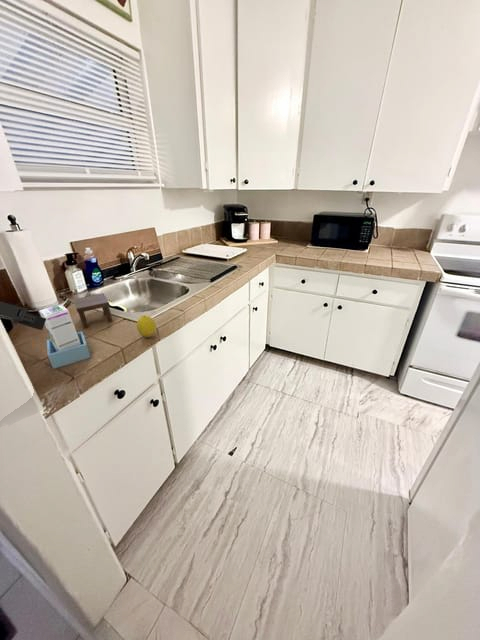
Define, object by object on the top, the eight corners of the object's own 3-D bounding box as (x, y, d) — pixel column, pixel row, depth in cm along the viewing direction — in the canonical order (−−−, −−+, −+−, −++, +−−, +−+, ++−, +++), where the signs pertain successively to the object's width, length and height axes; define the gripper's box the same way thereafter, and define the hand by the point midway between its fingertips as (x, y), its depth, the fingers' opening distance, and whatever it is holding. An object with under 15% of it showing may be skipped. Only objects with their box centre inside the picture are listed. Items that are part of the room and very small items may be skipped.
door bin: (51, 352, 78) (46, 340, 76) (86, 343, 82) (82, 331, 80) (53, 368, 71) (47, 355, 69) (90, 357, 76) (86, 344, 74)
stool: (79, 318, 97) (73, 299, 94) (108, 311, 102) (103, 293, 99) (83, 329, 90) (76, 308, 86) (113, 321, 95) (108, 301, 91)
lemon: (160, 334, 87) (156, 313, 83) (149, 343, 82) (144, 321, 79) (147, 331, 89) (143, 310, 85) (135, 339, 84) (130, 317, 81)
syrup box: (84, 353, 77) (69, 308, 70) (62, 362, 73) (44, 316, 66) (77, 346, 80) (62, 303, 73) (55, 354, 76) (37, 309, 69)
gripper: (-35, 264, 39) (69, 310, 59) (-157, 257, 43) (-20, 303, 63) (-58, 310, 37) (59, 342, 57) (-183, 298, 41) (-33, 332, 61)
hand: (17, 321), depth 60 cm, fingers open, 13 cm apart
